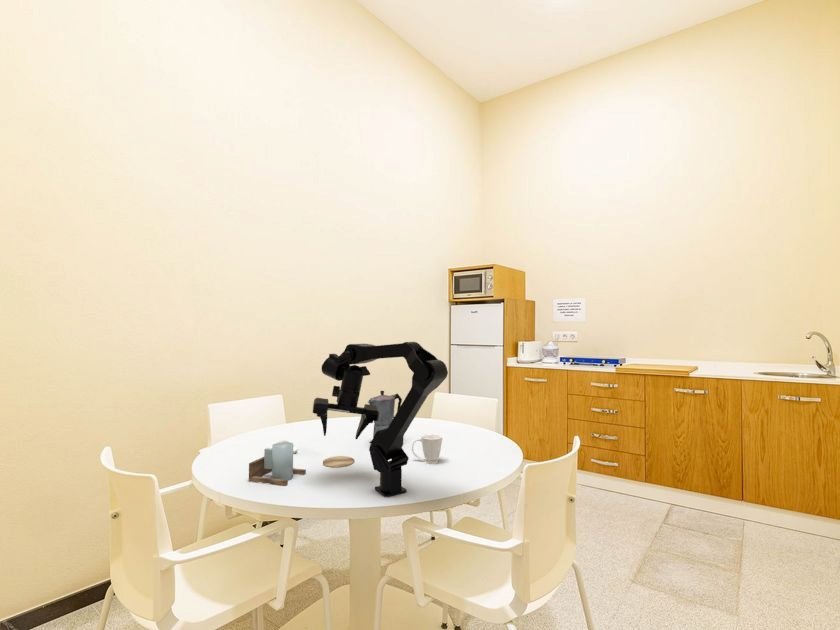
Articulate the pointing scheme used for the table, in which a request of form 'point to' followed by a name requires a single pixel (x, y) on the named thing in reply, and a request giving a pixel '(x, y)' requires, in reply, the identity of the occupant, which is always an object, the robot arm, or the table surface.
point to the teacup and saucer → (293, 448)
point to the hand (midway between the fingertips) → (340, 437)
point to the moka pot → (384, 410)
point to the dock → (258, 470)
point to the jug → (280, 460)
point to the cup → (430, 447)
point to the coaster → (338, 461)
